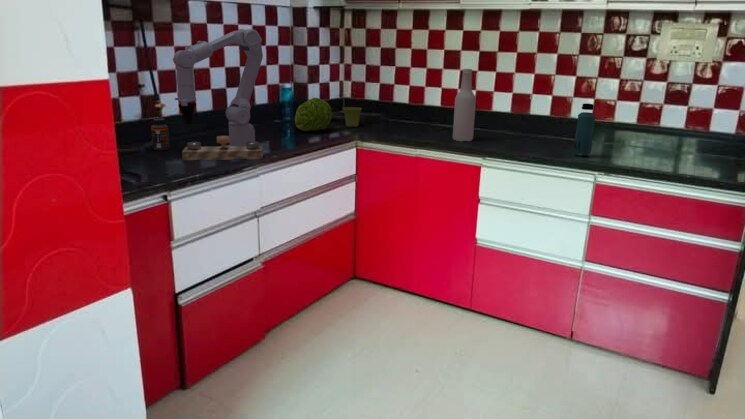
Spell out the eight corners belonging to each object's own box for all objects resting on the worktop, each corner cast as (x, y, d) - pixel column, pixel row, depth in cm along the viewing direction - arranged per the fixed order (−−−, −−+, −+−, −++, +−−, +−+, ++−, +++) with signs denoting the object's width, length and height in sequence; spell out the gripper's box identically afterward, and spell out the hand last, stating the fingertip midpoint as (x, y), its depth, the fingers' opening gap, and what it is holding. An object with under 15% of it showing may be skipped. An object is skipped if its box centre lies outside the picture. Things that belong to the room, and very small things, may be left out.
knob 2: (246, 154, 198) (245, 143, 197) (246, 152, 202) (246, 141, 201) (258, 154, 199) (258, 143, 198) (259, 152, 203) (258, 141, 202)
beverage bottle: (593, 156, 215) (600, 103, 210) (586, 158, 211) (593, 105, 205) (576, 153, 220) (583, 102, 214) (569, 156, 215) (576, 103, 209)
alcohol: (449, 140, 242) (454, 68, 233) (456, 137, 250) (460, 68, 241) (469, 142, 238) (474, 69, 229) (475, 139, 246) (480, 69, 237)
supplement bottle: (162, 151, 206) (159, 120, 203) (149, 150, 208) (146, 119, 205) (173, 148, 211) (171, 118, 208) (160, 147, 214) (158, 117, 210)
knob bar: (182, 160, 193) (182, 151, 192) (186, 155, 201) (185, 146, 200) (262, 159, 197) (262, 150, 196) (263, 154, 206) (262, 146, 205)
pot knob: (216, 149, 196) (216, 137, 195) (217, 146, 200) (217, 135, 199) (229, 149, 196) (229, 137, 195) (230, 146, 201) (229, 135, 199)
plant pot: (338, 125, 274) (338, 108, 272) (351, 124, 281) (351, 106, 279) (352, 128, 268) (353, 109, 266) (365, 126, 275) (365, 108, 273)
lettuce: (288, 135, 267) (320, 137, 273) (301, 127, 244) (336, 129, 250) (288, 104, 267) (320, 106, 273) (301, 93, 244) (336, 95, 250)
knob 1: (187, 155, 195) (186, 144, 194) (189, 153, 199) (188, 141, 198) (200, 155, 195) (199, 144, 194) (202, 152, 200) (201, 141, 198)
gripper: (177, 83, 205) (180, 120, 209) (170, 87, 192) (173, 126, 196) (197, 83, 207) (200, 120, 211) (192, 87, 193) (194, 126, 197)
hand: (188, 123), depth 203 cm, fingers closed
